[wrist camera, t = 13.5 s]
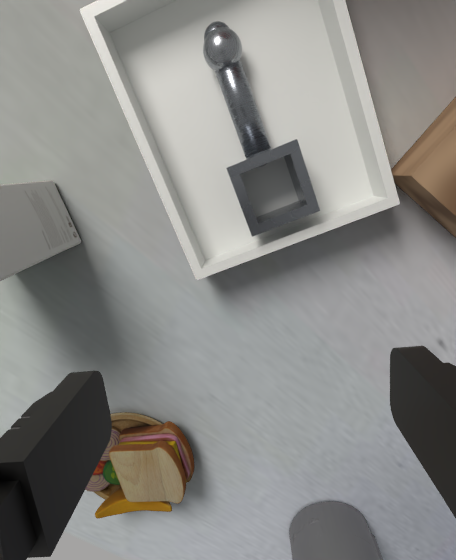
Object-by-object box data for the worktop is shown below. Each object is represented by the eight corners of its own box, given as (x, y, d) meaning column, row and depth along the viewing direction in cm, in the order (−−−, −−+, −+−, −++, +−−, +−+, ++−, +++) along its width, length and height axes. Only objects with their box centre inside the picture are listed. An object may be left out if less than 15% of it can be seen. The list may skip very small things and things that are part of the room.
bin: (381, 200, 33) (400, 203, 29) (201, 268, 36) (196, 280, 32) (305, -71, 28) (315, -110, 24) (99, 30, 30) (79, 9, 26)
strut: (246, 13, 29) (247, -15, 25) (310, 206, 33) (320, 210, 29) (181, 43, 30) (171, 22, 25) (250, 228, 34) (251, 236, 29)
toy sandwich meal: (68, 409, 41) (46, 439, 36) (189, 402, 40) (182, 432, 36) (89, 500, 44) (72, 537, 40) (202, 495, 43) (197, 533, 39)
